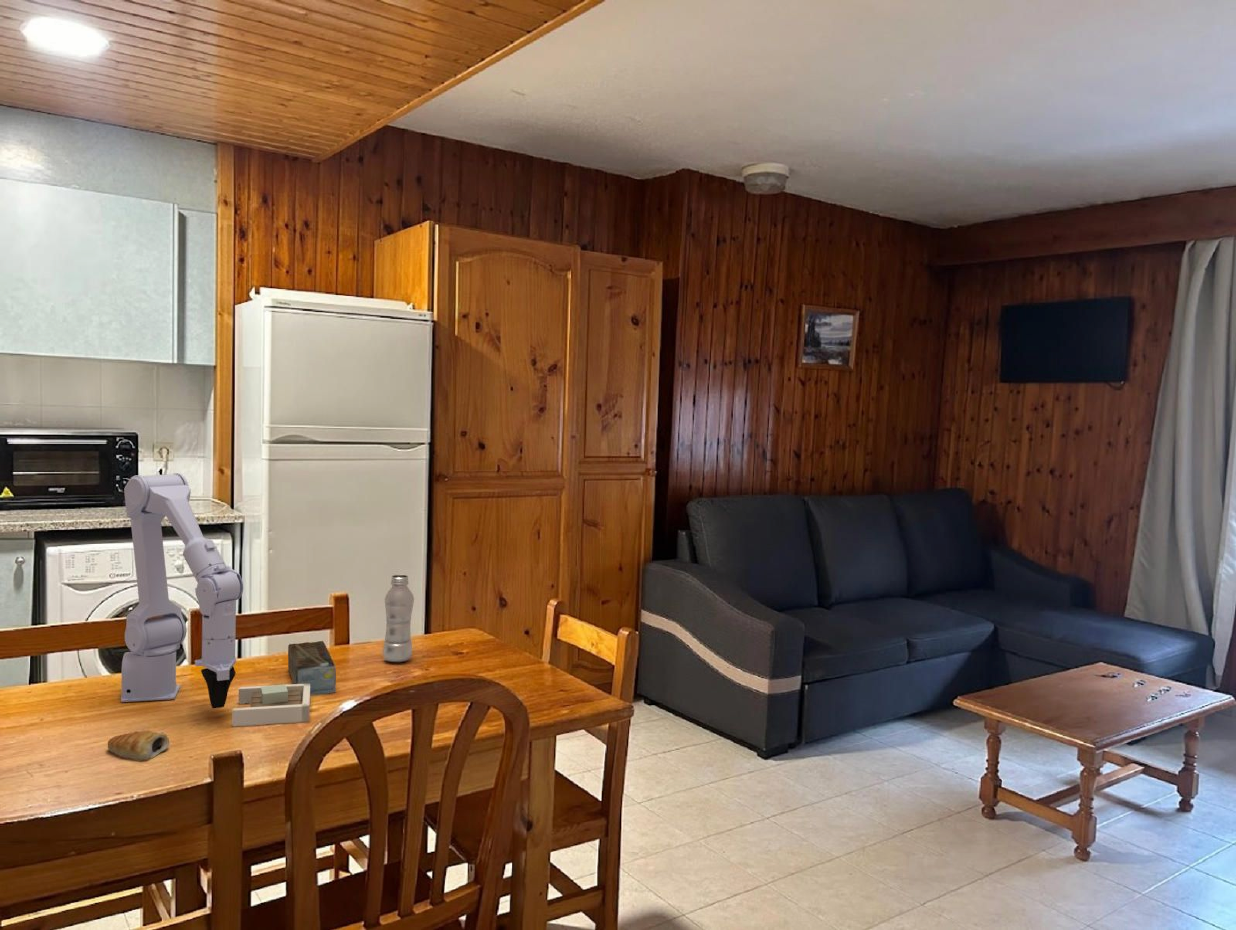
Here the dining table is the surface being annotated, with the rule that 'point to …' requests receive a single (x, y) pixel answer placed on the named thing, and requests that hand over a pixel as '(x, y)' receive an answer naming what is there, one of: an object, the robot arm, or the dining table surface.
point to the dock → (271, 708)
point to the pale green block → (274, 694)
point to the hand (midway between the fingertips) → (217, 706)
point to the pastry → (139, 744)
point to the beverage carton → (312, 667)
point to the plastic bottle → (398, 620)
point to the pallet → (293, 699)
